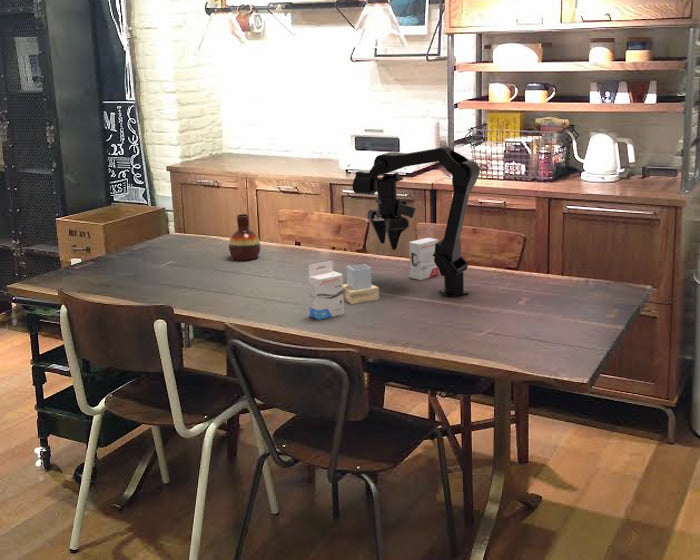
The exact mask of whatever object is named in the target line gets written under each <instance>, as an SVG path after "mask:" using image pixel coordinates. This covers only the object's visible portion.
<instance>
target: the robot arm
mask: <svg viewBox="0 0 700 560" xmlns="http://www.w3.org/2000/svg"><path fill="white" fill-rule="evenodd" d="M436 162H437V163H438V162H439V163H440V164H441V165H442V166H443V168H445V169H444V170H446V171H447V172H448V173H449V174H450V175H452V177H451V184H452V189H453V195H452V199H451V204H450V208H449V213H448V218H447V222H446V225H445V232H444V237H443V239H442V240H438V242H437V243H436V244H435V252H434V254H433V256H435V257H434V263H435V264H436V266H437V267H438V272H439V274H440V276H441V277H443V281H444V282H443V289H439V292H440V293H441V294H443V295H445V296H446V297H459V296H465V295H469V292H468V291H466V290H465V289H464V287H465V286H464V283H465V281H464V280H465V279H464V278H465V277H464V274H465V273H464V272H465V271H467V269H468V268H469V263H468V262H467V261H466V260H465V259H464V257H462V246H461V241H460V239H461V234H462V228H463V225H464V222H465V220H464V219H465V215H466V212H467V211H466V210H467V207H468V203H469V198H470V195H471V191H472V190H473V188H474V186H475V185H476V183H477V181H478V178H479V175H480V173H481V168H480V166H479V164H478V163H477V162H476V161H474V160H471V159H468V158H467V157H466V156H464V155H462V154H461V153H458V152H456V151H454V150H453V149H452V148H451V147H450V146H447V145H444V146H441V147H437V148H431V149H425V150H420V151H414V152H413V151H412V152H408V153H407V152H404V153H403V152H396V151H395V152H394V151H393V152H392V151H391V152H390V151H389V152H386V153H382V154H380V155H376V157H375V158H374V159H373V165H372V167H371V168H370V170H369V171H362V170H360V171H359V170H358V171H355V177H354V179H353V182H352V191H353V193H354V194H358V195H371V196H373V195H375V194H376V193H377V198H376V197H375V199H374V201H375V203H377V208H371V209H369V210H368V212H367V219H368V220H369V222H370V223H371V226H372V228H373V230H374V232H375V234H376V237H377V238H378V240H379V242H380V244H385V241H386V236H387V239H388V242H389V244H390V247H391V249H392V250H393V251H395V250H397V248H398V245H399V244H398V243H399V241H400V238H401V235H402V233H403V232H404V231H405V230H407V228H409V227H410V222H409V221H410V220H409V219H408V218H406V217H409V218H410V219H413V218H414V215H415V212H416V208H415V207H413V206H411V205H408V204H407V201H406V200H402V199H399V198H398V194H397V192H398V191H397V190H398V189H397V185H398V184H397V183H399V182H401V181H404V177H403V176H401V175H400V174H399V172H395V171H397V170H400V169H403V168H405V167H406V168H407V167H411V166H418V165H424V164H430V163H431V164H432V163H436ZM392 172H394V173H393V174H389V173H392ZM381 175H383V176H382V177H379V176H381ZM404 216H405V217H404Z"/></svg>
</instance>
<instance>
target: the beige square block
mask: <svg viewBox="0 0 700 560" xmlns="http://www.w3.org/2000/svg"><path fill="white" fill-rule="evenodd" d="M378 300H380V288H379V287H378V286H376V285H374V284H372V283H371V288H367V289H359V290H353V289H351V288H350V287H349V286H347V283H343V302H347V303H348V304H349V305H358V304H361V303H362V304H363V303H366V302H367V303H368V302H374V301H378Z"/></svg>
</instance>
